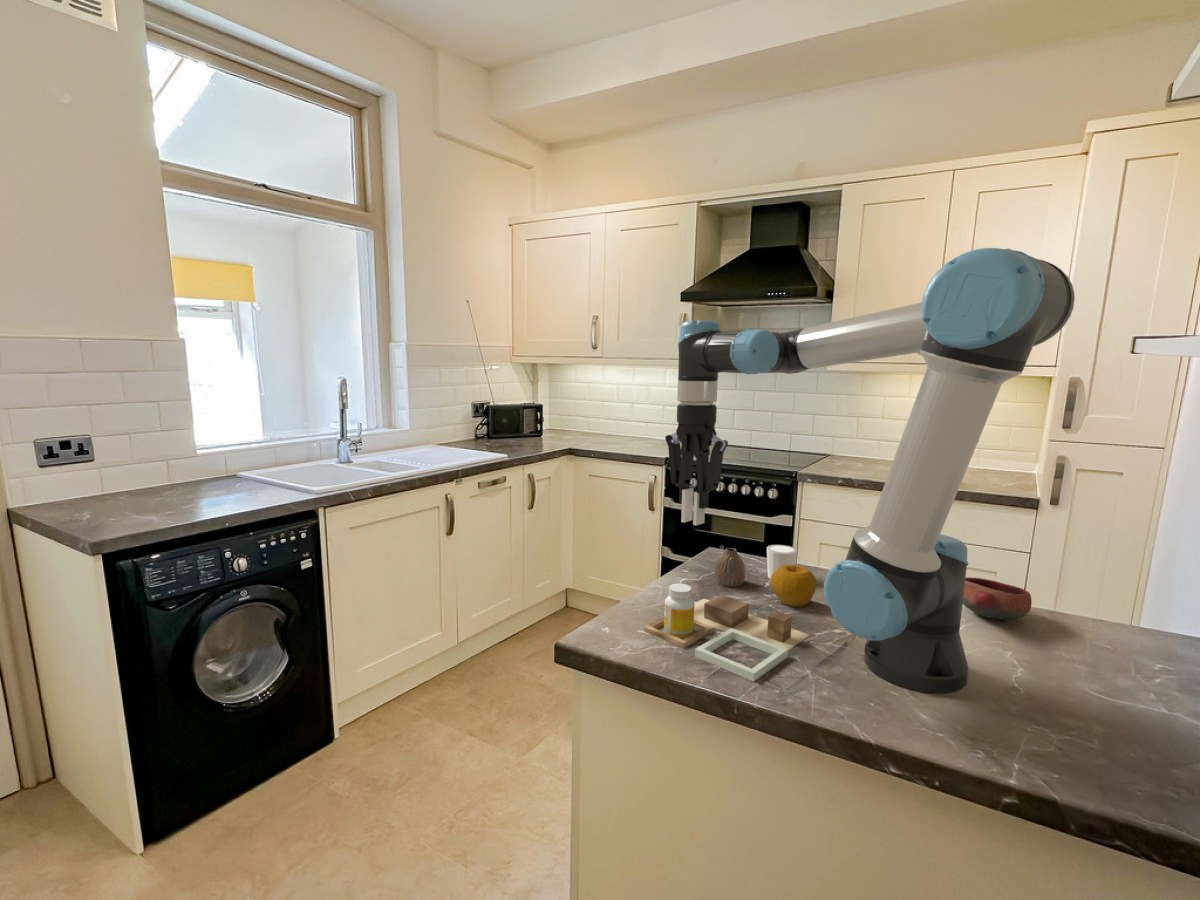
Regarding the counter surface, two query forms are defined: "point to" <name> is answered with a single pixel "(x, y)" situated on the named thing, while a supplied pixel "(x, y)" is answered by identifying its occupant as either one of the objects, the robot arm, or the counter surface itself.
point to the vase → (730, 569)
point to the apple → (793, 585)
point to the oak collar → (677, 641)
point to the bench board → (760, 627)
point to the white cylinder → (779, 557)
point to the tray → (741, 670)
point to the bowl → (995, 599)
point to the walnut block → (726, 611)
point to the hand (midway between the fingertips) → (692, 522)
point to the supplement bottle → (679, 611)
